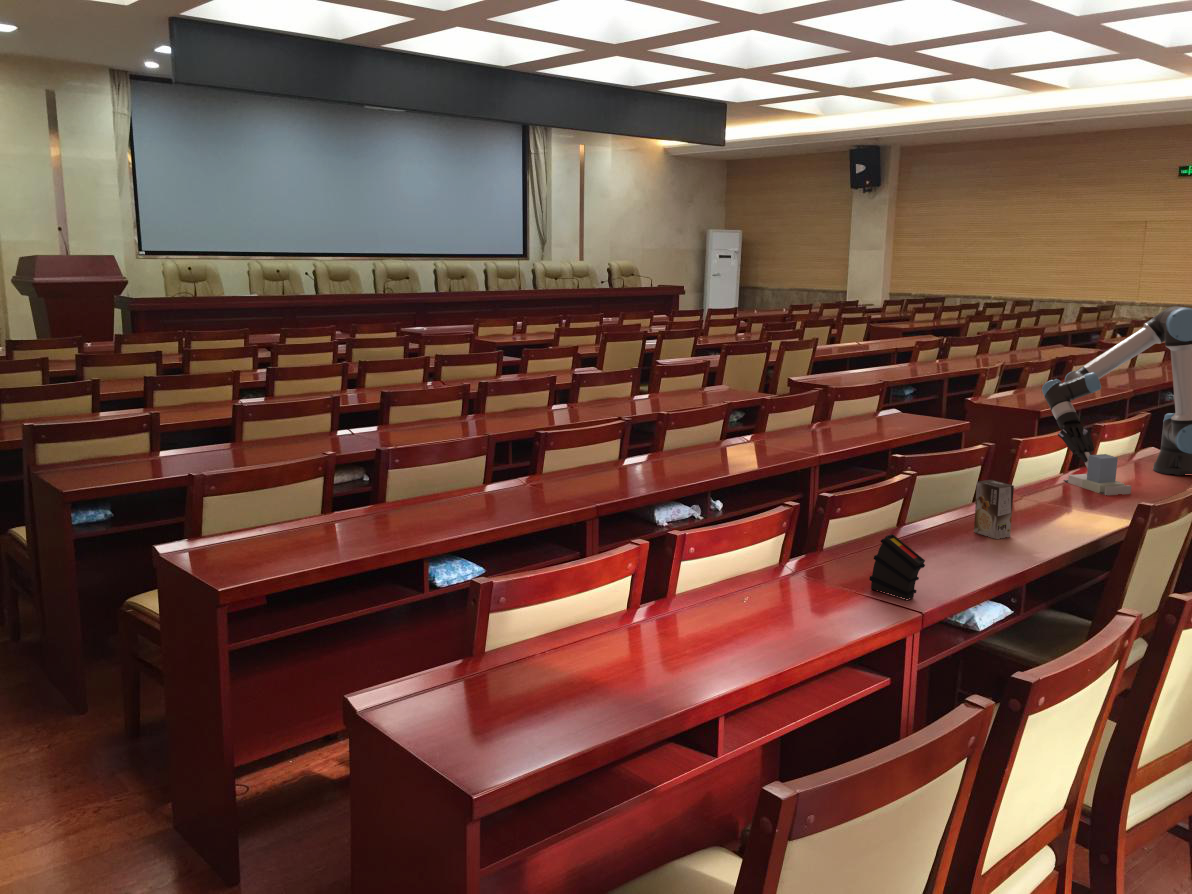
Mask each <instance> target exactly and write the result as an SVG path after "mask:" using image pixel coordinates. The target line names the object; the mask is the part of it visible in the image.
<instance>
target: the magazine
mask: <svg viewBox="0 0 1192 894" xmlns="http://www.w3.org/2000/svg"><path fill="white" fill-rule="evenodd" d="M880 543H881V544H880V547H879V548H878V551H877V554H875V555H873V560H875V561H874V564H873V567H872V575H870V576H869V580H868V581H871V585H870V590H871V589H874V590H878V591H882V592H885V593H889V594H892V595H895V596H898V597H902V598H905V599H909V598H912V597H914V596H915V594H916V593H917V589H915V587H916V582H917V581H919V579H920V577H919V576H918V574H919V572H920V570H921V569H923V568H925V566H926V564H925V562H926V560H925V559H924V557H921V555H919V554H918V553H917V552H915V550H913V549H912V548H910V547H909V546H908V545H907V544H906V543H905V542H903V541H902V540H901V539H900V538H898V537H897V536H896V535H894V534H888V535H886V536H885V538H882V539H881V540H880ZM874 590H873V591H874ZM914 598H915V597H914Z"/></svg>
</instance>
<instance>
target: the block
mask: <svg viewBox="0 0 1192 894" xmlns="http://www.w3.org/2000/svg"><path fill="white" fill-rule="evenodd" d="M1118 459H1119V458H1118V457H1117V456H1114V455H1111V454H1106V453H1104V454H1102V453H1101V454H1091V455H1089V460H1088V469H1086V470H1087V471H1086V474H1087V480H1090V481H1093V482H1097V483H1107V482H1115V481H1117V480H1116V476H1117V467H1118Z"/></svg>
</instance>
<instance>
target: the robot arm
mask: <svg viewBox="0 0 1192 894" xmlns="http://www.w3.org/2000/svg"><path fill="white" fill-rule="evenodd" d="M1163 342H1164V345H1165V347H1166V348H1167V349H1169V350H1170V360H1171V373H1172V374H1171V375H1172V384H1173V399H1174V409H1175V410H1174V411H1175V412H1173V413H1171V412H1168V413H1166V414H1164V416H1163V417H1164V418H1163V421H1162V422H1163V424H1162V434H1161V443H1160V451H1159V453H1158V455H1157V458H1156V460H1155V462H1154V463H1153V468H1152V470H1153V471H1154V472H1157V473H1160V474H1165V475H1170V474H1175V475H1174V476H1181V475H1185V474H1192V307H1185V306H1180V305H1179V306H1178V305H1175V306H1170V307H1168V308H1166V309H1164V310H1162V311H1161V312H1159V313H1158V314H1156V315H1155V316H1154V317H1152V318H1151V319H1149V320H1148V321H1146V322H1144V323H1143V327H1142V328H1140V329H1139V330H1137V331H1136V332H1133V334H1130V335H1129V336H1128V337H1126V338H1125V339H1123V340H1122V341H1120V342H1118V343H1116V345H1114V346H1112V347H1110V348H1108V349H1107V350H1105V351H1104V352H1103V353H1101V354H1099V355H1097V357H1095V358H1093V359H1092V360H1089V362H1087V363H1085V364H1084V365H1082V366H1081V367H1079V368H1078V369H1076V370H1073V371H1070V372H1068V373H1067V374H1066V375H1065V377H1064V382H1062V381H1061V380H1060V379H1057V378H1055V379H1050V380H1048V381H1046V382H1044V384H1043V385H1042V387H1041V392H1042V394H1043V397H1044V399H1045V401H1046V403H1047V405H1048V407H1049V409H1050V411H1051V413H1052V415H1053V417H1054V418H1055V420H1056V423H1057V425H1058V427H1059V429H1060V431H1059V432H1058V433H1057V436H1058V437H1059V438H1060V439H1061V440H1062V441H1063V443H1064V444H1065V445H1066V446H1067V448H1068V449H1069V451H1071V453H1072V454H1073V455H1076V457H1078V458H1080V459H1081V461H1082V463H1084V465H1085V466H1086V470H1088V460H1089V455H1092V453H1093V452H1094V451H1095V447H1094V443H1093V438H1092V430H1091V429H1090V428H1088V429H1085V428H1084V426H1083V425H1082V424H1081V419H1080V417H1079V415H1078V413H1077V411H1076V409H1075V406H1074V405H1073V403H1072V402H1071V401H1074V400H1076V399H1080V398H1082V397H1085V396H1088V395H1091V394H1094V393H1096V392H1098V391H1101V389H1102V384H1101V381H1100V379H1102V378H1103V377H1105V376H1106V375H1108V374H1109V373H1111V372H1112V371H1114V370H1115V369H1117V368H1119V367H1121V366H1122V365H1123V364H1125V363H1127V362H1128V361H1130V360H1131V359H1133V358H1135V357H1137V356H1138V355H1139V354H1141V353H1143V352H1145V351H1146V350H1147V349H1150V348H1151V347H1152V346H1154V345H1156V344H1163Z"/></svg>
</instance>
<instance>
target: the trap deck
mask: <svg viewBox="0 0 1192 894" xmlns="http://www.w3.org/2000/svg"><path fill="white" fill-rule="evenodd" d="M1064 481H1065V482H1064ZM1063 482H1064V483H1066V484H1067V483H1068V484H1071V485H1074V486H1075V487H1080V488H1083V489H1085V490H1088V491H1092V492H1095V493H1097V494H1100V495H1103V494H1104V495H1103V496H1106V495H1107V496H1119V495H1118V494H1122V495H1131V494H1132V485H1129V484H1127V485H1125V483H1124V482H1121V481H1117V480H1115V482H1107V483H1097V482H1093V481H1090V480H1087V473H1081V474H1080V473H1079V474H1068V478H1067V479H1063Z"/></svg>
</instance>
